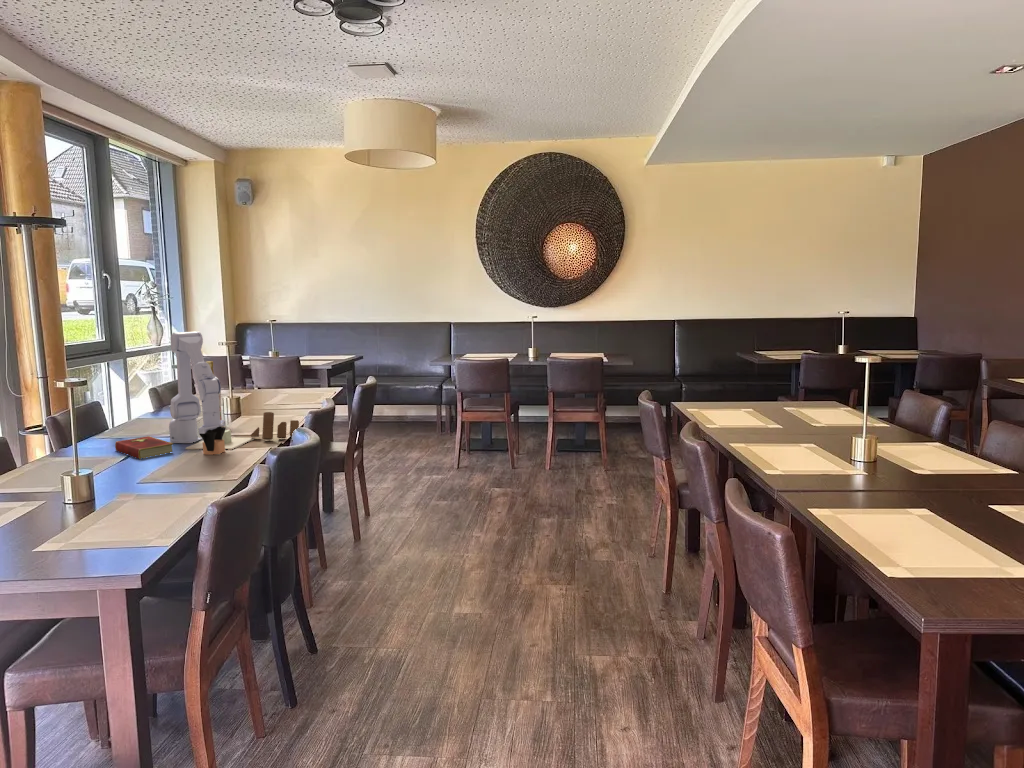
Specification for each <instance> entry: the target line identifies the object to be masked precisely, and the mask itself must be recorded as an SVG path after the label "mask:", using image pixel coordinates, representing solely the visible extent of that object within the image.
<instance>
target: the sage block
mask: <svg viewBox="0 0 1024 768" xmlns="http://www.w3.org/2000/svg"><path fill="white" fill-rule="evenodd" d="M231 437H232V430H231V429H226V430H225V432H224V434H223V437H222V440H224V444H227V443H229V442H232V439H231Z"/></svg>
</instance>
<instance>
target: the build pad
mask: <svg viewBox="0 0 1024 768" xmlns="http://www.w3.org/2000/svg"><path fill="white" fill-rule="evenodd" d="M231 439H232V442H229V443H227V444H225V449H228V450H227V451H233V450H235V449H237V448H239V447H242V446H243V444H244V445H246V444H248V443H249V442H252V441H255V440H256V437H237V436H236V437H235V436H234V437H232V436H231ZM203 442H204V441H203V440H200V441H199V442H195V443H194V444H191V445H189V446H185V450H199V449H203ZM247 442H248V443H247ZM245 443H246V444H245ZM234 448H235V449H234ZM232 449H233V450H232Z"/></svg>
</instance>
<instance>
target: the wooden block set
mask: <svg viewBox="0 0 1024 768" xmlns="http://www.w3.org/2000/svg"><path fill="white" fill-rule="evenodd" d="M274 417H275V413H274V412H272V411H266V412H263V417H262V437H261V438H262V440H264V441H265V440H266V441H269V440H270V441H271V440H273V439H274V437H273V436H274V422H275V420H274ZM289 423H290V427H289V437H291V436H292V433H293V431H294V430H295V429H297V428H298V427H300V421H299V420H296V419H295V420H293V419H291V420H290V421H289ZM287 425H288V424H287V422H286V421H282V422H280V423H278V424H277V434H276V435H277V436H276V438H277V439H287ZM249 437H250V438H258V437H260V427H259V426H258V427H257V428H256V429H255V430H254V431H253V432H251V434H250V435H249Z"/></svg>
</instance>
